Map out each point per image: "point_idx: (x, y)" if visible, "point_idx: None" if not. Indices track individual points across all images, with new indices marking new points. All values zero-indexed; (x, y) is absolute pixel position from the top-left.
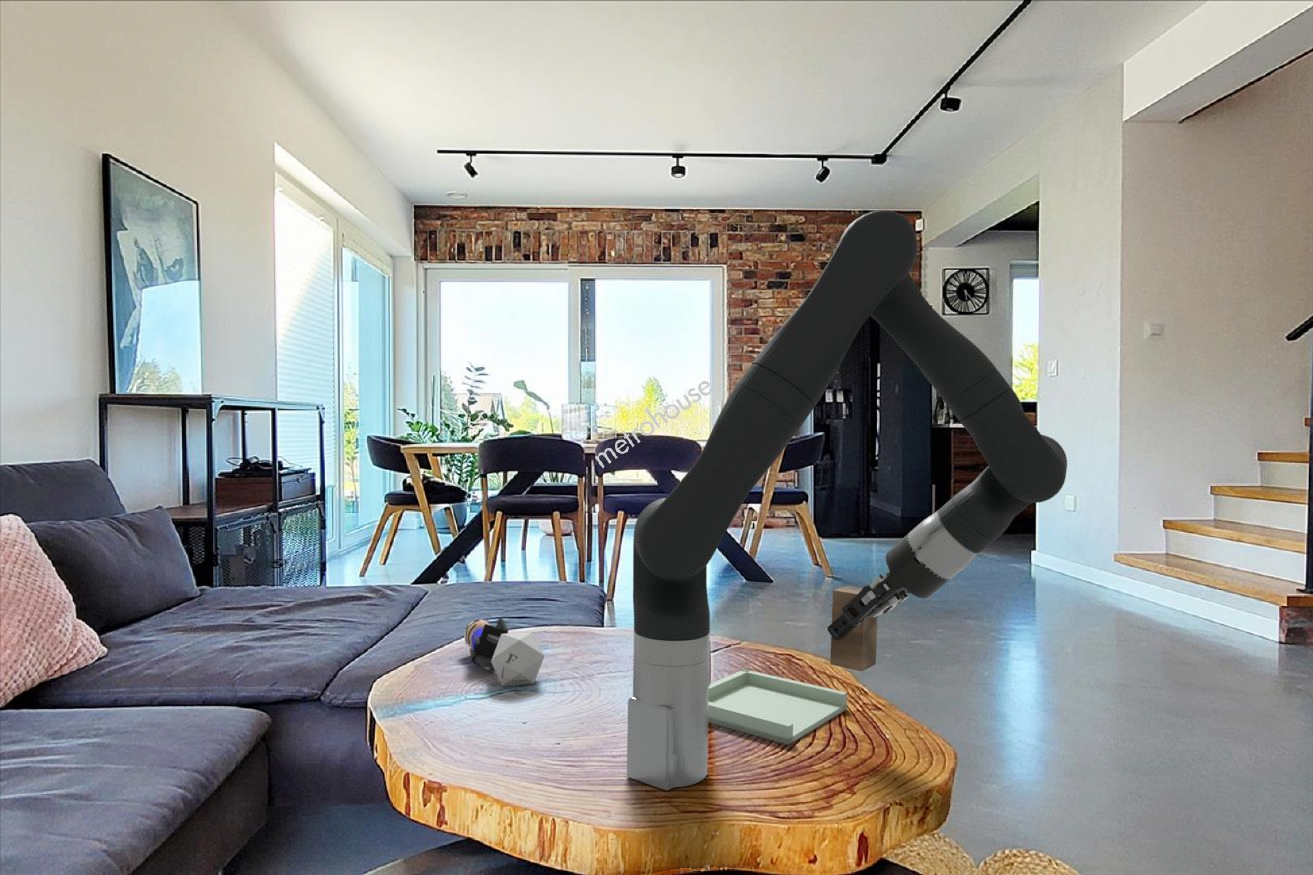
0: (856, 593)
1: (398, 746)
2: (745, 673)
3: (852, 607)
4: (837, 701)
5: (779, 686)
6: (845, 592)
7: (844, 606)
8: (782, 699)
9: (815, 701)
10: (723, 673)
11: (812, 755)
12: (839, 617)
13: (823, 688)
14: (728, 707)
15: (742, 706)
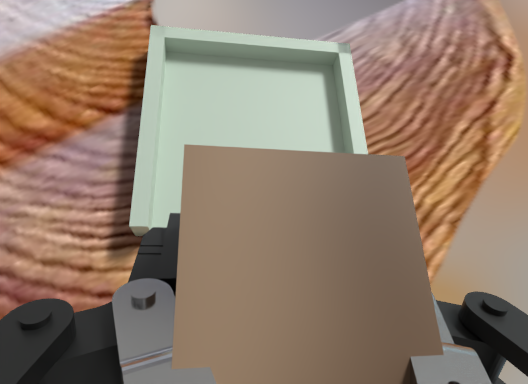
0: (192, 329)
1: None
2: (334, 53)
3: (116, 341)
4: None
5: (342, 114)
6: (181, 238)
7: (21, 320)
8: (305, 140)
9: None
10: (358, 22)
11: (114, 293)
12: (162, 253)
13: None
14: (155, 102)
15: (229, 105)
